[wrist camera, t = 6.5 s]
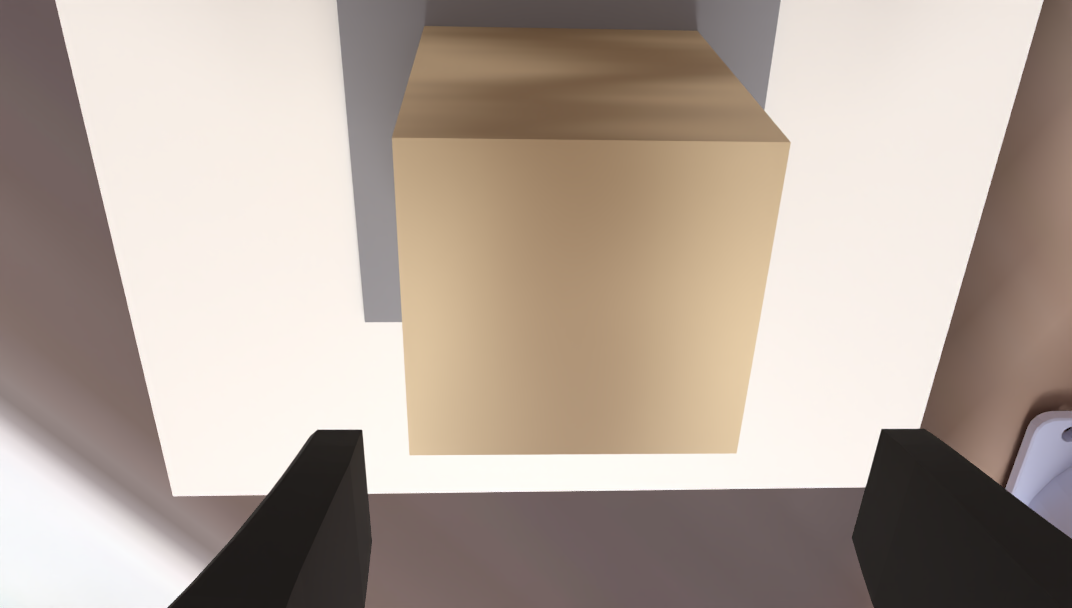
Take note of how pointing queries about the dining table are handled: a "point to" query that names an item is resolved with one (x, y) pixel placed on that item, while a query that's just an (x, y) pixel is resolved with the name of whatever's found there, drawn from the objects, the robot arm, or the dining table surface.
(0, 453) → the dining table surface
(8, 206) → the dining table surface
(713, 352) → the block
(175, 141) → the plinth
